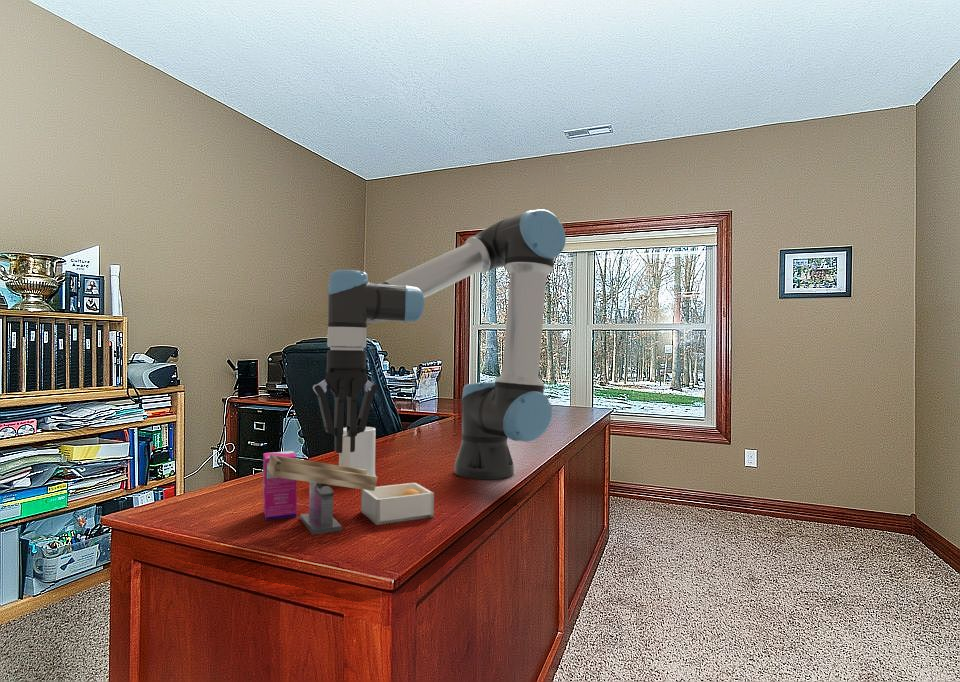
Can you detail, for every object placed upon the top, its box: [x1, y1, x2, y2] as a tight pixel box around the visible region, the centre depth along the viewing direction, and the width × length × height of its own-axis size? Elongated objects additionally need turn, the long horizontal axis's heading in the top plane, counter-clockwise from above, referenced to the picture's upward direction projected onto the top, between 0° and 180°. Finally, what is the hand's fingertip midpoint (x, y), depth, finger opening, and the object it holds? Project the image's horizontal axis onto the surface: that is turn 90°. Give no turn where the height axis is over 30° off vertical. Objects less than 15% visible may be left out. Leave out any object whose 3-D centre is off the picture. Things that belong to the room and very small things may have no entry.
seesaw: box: [267, 455, 379, 491], centre depth 106 cm, size 18×13×2 cm
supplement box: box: [262, 450, 298, 521], centre depth 109 cm, size 6×6×12 cm
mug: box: [343, 426, 377, 476], centre depth 141 cm, size 12×8×12 cm
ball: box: [401, 489, 419, 496], centre depth 111 cm, size 4×4×4 cm
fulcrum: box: [299, 482, 343, 536], centre depth 103 cm, size 5×10×8 cm, turn 29°
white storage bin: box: [360, 482, 435, 526], centre depth 110 cm, size 11×9×4 cm
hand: (344, 468), depth 113 cm, fingers closed
